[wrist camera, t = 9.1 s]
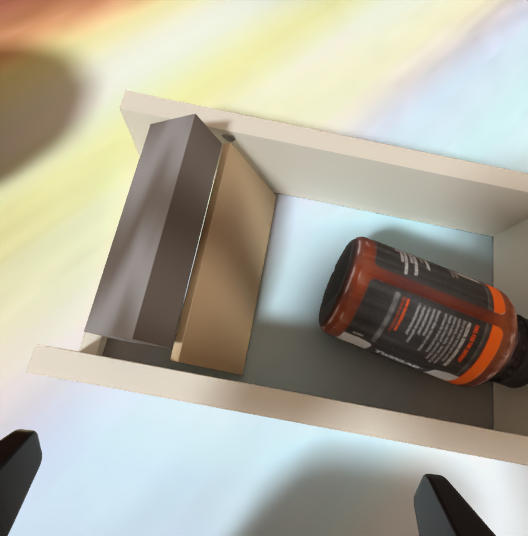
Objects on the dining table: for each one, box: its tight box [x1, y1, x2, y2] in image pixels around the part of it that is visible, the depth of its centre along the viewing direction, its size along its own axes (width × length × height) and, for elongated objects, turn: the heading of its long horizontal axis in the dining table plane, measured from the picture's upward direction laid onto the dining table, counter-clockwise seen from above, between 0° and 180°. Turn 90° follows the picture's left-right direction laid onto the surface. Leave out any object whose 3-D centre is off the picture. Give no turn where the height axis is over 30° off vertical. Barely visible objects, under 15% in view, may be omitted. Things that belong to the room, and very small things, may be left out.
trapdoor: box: [84, 114, 277, 375], centre depth 21 cm, size 12×9×3 cm
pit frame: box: [26, 91, 528, 465], centre depth 22 cm, size 15×26×6 cm, turn 80°
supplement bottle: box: [319, 237, 528, 388], centre depth 21 cm, size 6×6×11 cm
